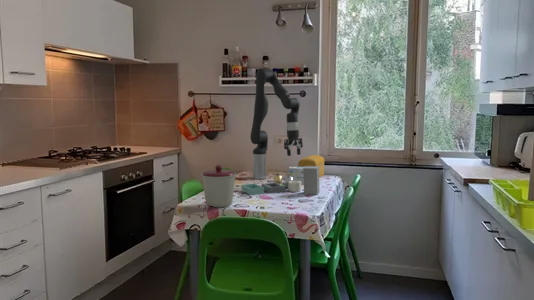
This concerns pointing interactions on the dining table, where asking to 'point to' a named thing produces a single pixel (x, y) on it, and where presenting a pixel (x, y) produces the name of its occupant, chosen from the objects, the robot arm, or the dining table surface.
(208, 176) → the canister
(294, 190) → the white cup
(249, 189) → the trough
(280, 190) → the block
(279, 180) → the brass cell
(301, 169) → the light bulb box
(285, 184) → the grey cell
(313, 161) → the bread
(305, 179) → the skincare box
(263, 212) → the dining table surface
